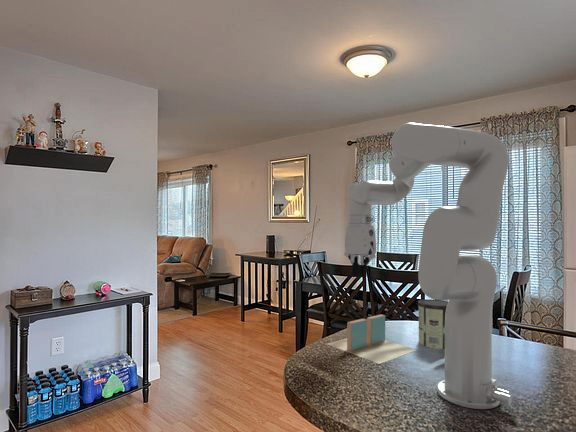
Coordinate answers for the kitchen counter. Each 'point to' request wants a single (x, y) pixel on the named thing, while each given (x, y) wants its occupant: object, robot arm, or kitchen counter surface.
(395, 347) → the board
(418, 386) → the kitchen counter surface
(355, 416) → the kitchen counter surface
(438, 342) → the coffee can
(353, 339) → the tile left
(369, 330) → the tile right
